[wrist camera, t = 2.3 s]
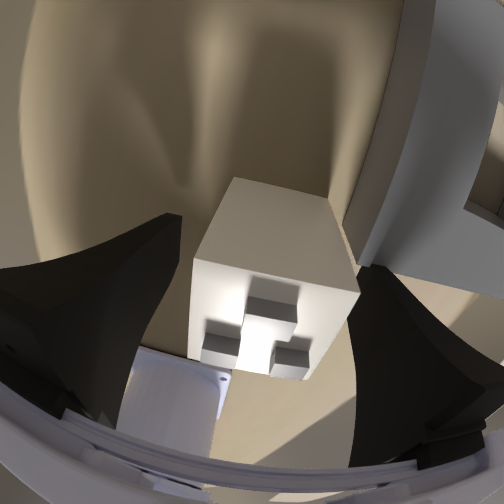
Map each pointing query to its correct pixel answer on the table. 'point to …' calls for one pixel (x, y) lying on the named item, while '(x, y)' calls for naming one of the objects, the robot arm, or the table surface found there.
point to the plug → (269, 282)
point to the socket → (435, 151)
